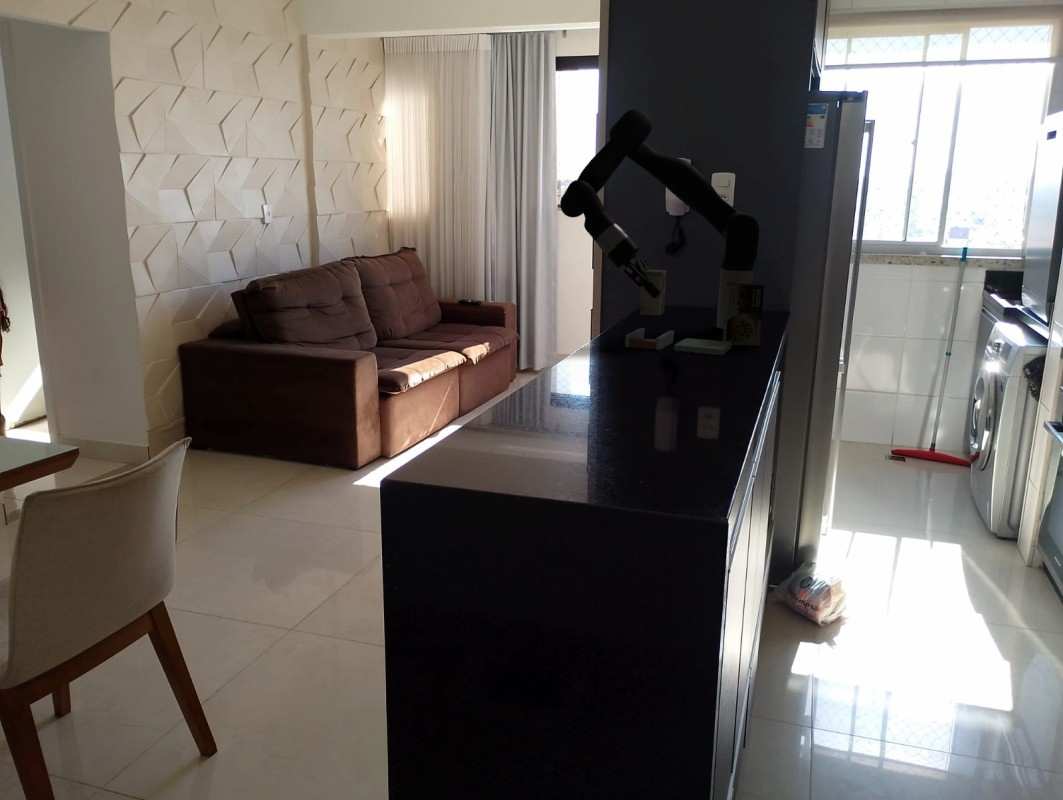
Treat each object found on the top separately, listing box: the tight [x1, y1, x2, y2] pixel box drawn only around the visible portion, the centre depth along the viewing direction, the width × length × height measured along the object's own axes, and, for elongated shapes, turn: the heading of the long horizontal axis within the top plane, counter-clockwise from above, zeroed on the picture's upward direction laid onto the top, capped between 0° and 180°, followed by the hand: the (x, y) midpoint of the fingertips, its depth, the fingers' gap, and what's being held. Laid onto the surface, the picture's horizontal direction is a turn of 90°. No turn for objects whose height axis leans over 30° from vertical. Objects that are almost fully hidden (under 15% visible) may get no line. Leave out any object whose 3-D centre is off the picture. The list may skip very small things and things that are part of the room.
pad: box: [673, 337, 733, 356], centre depth 219 cm, size 12×12×2 cm
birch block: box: [639, 269, 667, 316], centre depth 224 cm, size 5×5×11 cm
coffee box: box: [722, 281, 765, 347], centre depth 227 cm, size 9×6×16 cm
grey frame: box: [624, 327, 675, 351], centre depth 224 cm, size 14×9×3 cm, turn 157°
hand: (660, 294), depth 223 cm, fingers closed on birch block, 5 cm apart
